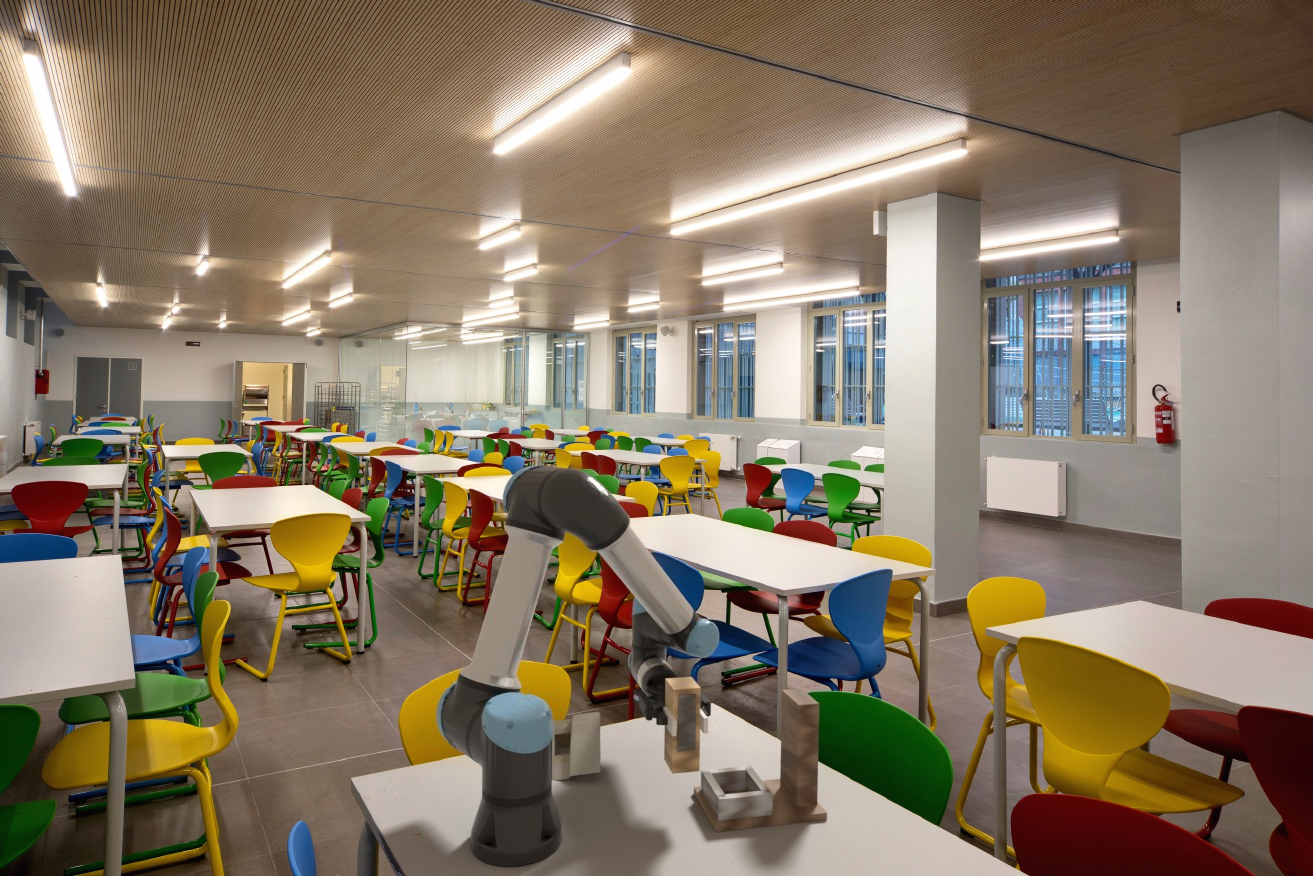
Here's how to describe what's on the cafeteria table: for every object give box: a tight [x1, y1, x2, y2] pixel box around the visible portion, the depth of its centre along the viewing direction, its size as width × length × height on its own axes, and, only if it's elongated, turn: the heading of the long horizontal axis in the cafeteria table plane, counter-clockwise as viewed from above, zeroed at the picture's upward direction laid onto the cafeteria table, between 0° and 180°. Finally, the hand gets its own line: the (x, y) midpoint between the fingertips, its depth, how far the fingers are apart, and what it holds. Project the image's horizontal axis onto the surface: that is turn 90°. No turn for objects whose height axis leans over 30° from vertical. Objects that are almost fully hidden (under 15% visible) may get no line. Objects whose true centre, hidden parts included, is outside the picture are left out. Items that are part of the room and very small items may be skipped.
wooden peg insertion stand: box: [693, 688, 828, 833], centre depth 141 cm, size 21×14×20 cm, turn 103°
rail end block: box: [663, 676, 702, 775], centre depth 138 cm, size 5×6×15 cm
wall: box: [552, 711, 602, 782], centre depth 158 cm, size 16×9×15 cm
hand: (690, 727), depth 133 cm, fingers closed on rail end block, 5 cm apart
